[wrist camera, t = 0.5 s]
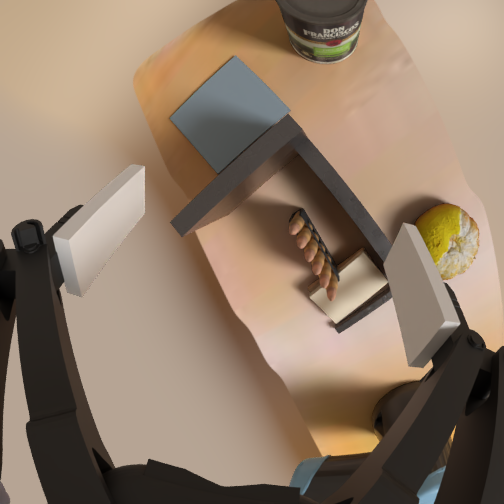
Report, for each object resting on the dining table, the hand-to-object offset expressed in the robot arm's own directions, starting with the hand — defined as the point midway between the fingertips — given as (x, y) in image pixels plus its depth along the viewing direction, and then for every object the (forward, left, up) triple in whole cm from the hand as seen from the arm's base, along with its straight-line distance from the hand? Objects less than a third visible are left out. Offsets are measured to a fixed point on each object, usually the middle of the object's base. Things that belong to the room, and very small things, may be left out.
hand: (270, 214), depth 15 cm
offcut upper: (-15, +4, -29) cm, 33 cm away
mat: (+16, +2, -30) cm, 34 cm away
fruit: (-18, -11, -31) cm, 37 cm away
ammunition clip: (-7, +4, -31) cm, 32 cm away
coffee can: (+16, -17, -31) cm, 38 cm away
